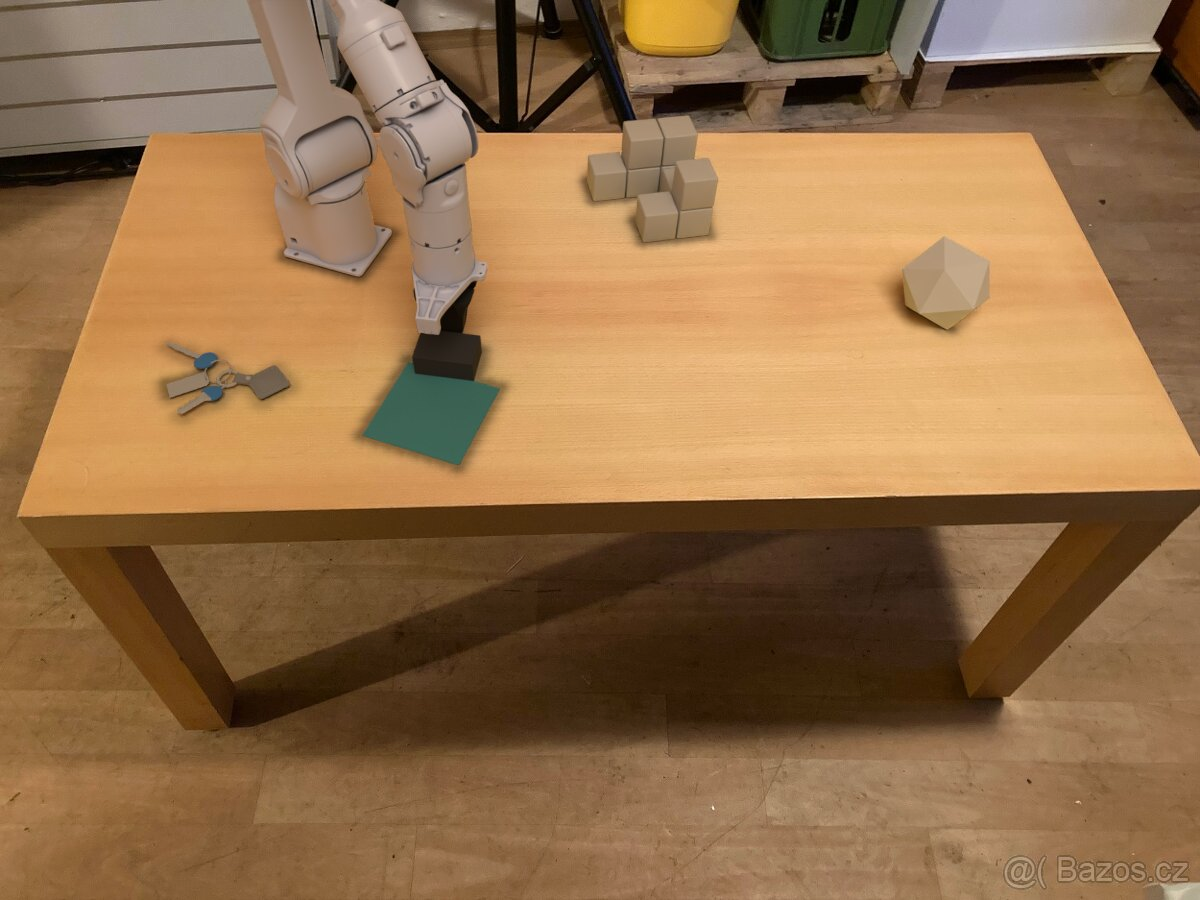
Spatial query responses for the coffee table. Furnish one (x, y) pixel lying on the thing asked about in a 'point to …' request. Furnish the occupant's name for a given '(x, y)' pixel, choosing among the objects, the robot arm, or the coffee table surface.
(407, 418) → the mat
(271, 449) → the coffee table surface
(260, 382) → the key chain
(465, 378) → the eraser
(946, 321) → the die
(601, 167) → the grey cube cluster
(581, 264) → the coffee table surface
